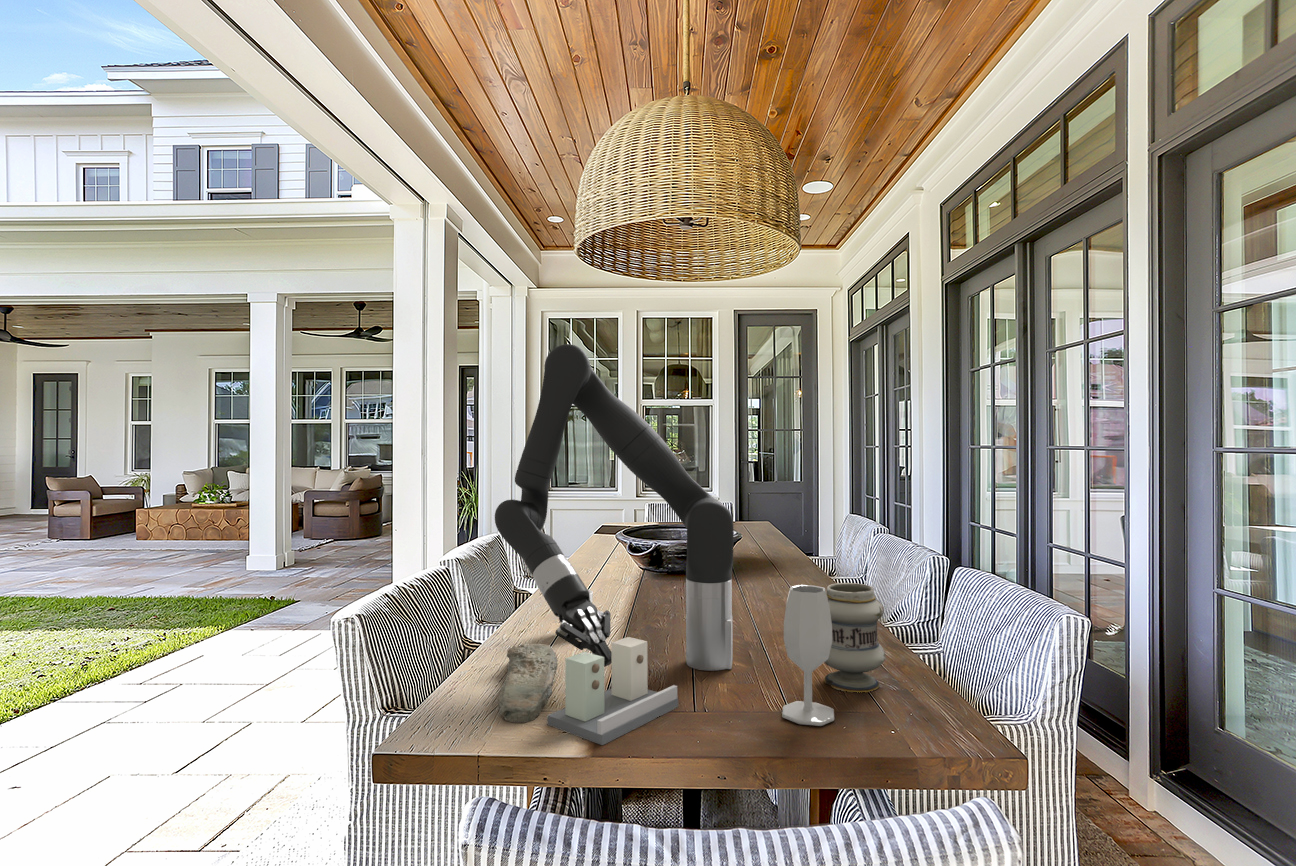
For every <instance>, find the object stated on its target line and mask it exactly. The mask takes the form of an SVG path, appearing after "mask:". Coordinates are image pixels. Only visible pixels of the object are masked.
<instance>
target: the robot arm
mask: <svg viewBox="0 0 1296 866" xmlns="http://www.w3.org/2000/svg"><path fill="white" fill-rule="evenodd" d="M543 367H544V370H543V372H544V373H543V380H542V384H541V390H540V391H541V393H540V397H539V400H538V405H537V409H536V413H535V416H534V418H533V422H532V425H531V427H530V431H529V434H528V436H527V439H526V441H525V445H524V448H523V450H522V453H521V457H520V460H519V463H518V465H517V467H516V471H515V475H514V483H515V485H517V487H519V488H520V489H521V497H520V500H518V499H506V500H504V501H502V502H501V503H499V504H498V506H497V507H496V509H495V512H494V523H495V527H496V529H497V531H498V533H499V535H500V536H501V537H502V538H503V539H504V540H505V542H507V544H508V545H509V546H510V547H511V548H512V549H513V550H514V551H515V553H516V554H518V556H520V558H521V559H522V560H523V561H524V563H525V565H526V567H527V569H528V570H529V572H530V574H531V575H532V577H533V579H534V581H535V584H536V586H537V588H538V590H539V592H541V593H540V594H542V597H543V598H544V600H545V602H546V604H547V605H548V607H549V608H550V610H551V612H552V613H553V615H554V616H555V617H557V618H558V620H559V623H560V622H561V624H559V626H558V628H557V629H556V630H555V635H556V636H557V637H559V638H560V639H562V640H563V641H565V642H567V643H568V644H570V645H572V646H574V647H575V648H576V649H578V650H580V651H583V650H584V649H586V650H588V651H590V652H591V654H595V655H599V656H602V657H604V668H605V667H607V666H610V665H612V662H611V649H610V647H609V646H608V644H607V642H606V640H607V639H608V638H609V637H610V636H611V612H610V611H609V610H606V609H605V610H604V611H601V610H598V608H597V606H596V604H594V603H593V602H591V601H590V598H589V591H588V590H589V589H588V588H587V586H586V585H585V583H584V582H583V580H582V579H581V577H580V575H579V574H578V572H577V571H576V569H575V568H574V566H573V565H572V563H571V562H570V561H569V559H567V557H566V556H565V554H564V553H563V551H562V549H561V548H560V546H559V545H558V543H557V542H556V540H555V539H554V538H553V537H552V536H551V535H549V534H547V533H546V532H543V531H542V529H543V527H544V526H545V523H546V520H547V515H548V505H549V503H548V502H549V489H550V487H549V486H550V483H551V481H552V480H551V479H552V477H553V475H554V471H555V467H556V465H557V463H558V460H559V459H558V458H559V455H560V450H561V446H562V441H563V436H564V432H565V427H566V424H567V421H568V417H569V415H570V411H571V409H572V407H573V406H574V407H575V408H576V409H578V410H579V412H580V413H582V414H583V415H584V416H585V417H586V418H587V420H588V421H589V422H590V424H591V425H592V426H593V428H594V430H595V431H596V432H597V434H598V435H599V436H600V438H601V439H602V440H603V442H605V444H606V446H608V448H609V449H610V450H611V451H612V453H613V454H614V455H615V456H616V457H617V458H618V459H619V460H620V461H621V462H622V464H624V465H625V467H627V469H629V471H630V472H631V473H632V474H634V476H636V477H637V478H638V479H639V480H640V481H642V482H643V483H644V484H645V485H646V487H649V488H650V489H651V490H653V491H654V492H655V493H656V494H658V495H659V496H660V497H661V498H662V499H663V500H664V501H665V502H666V503H667V504H668V505H669V507H670V508H671V509H672V510H673V512H674V513H675V515H676V516H677V517H678V519H679V520H680V521H681V522H682V524H683V525H684V527H685V529H686V564H685V656H686V657H685V660H686V661H685V663H686V665H687V667H689V668H692V669H695V670H699V671H710V672H711V671H712V672H713V671H722V670H723V671H724V670H731V669H732V667H733V614H732V613H733V610H732V609H733V607H732V606H733V601H732V600H733V596H732V595H733V593H732V592H733V589H732V587H733V586H732V585H733V582H732V581H733V580H732V578H733V577H732V575H733V574H732V573H733V566H734V539H735V538H734V536H735V535H734V533H735V532H734V519H733V516H732V513H731V512H730V510H729V508H728V507H727V506H725V505H724V504H722V502H720V501H719V500H718V499H716V498H715V497H714V496H713V495H711V494H710V493H709V492H707V491H706V489H704V488H703V487H702V486H701V485H700V484H699V483H698V482H697V481H695V480H694V479H693V478H692V477H691V475H690V474H689V473H688V472H687V471H686V469H685V467H684V466H683V465H682V464H681V462H680V461H679V459H678V457H677V456H676V455H675V453H674V452H673V451H672V449H671V448H670V447H669V445H668V444H667V442H666V441H665V440H664V438H662V437H661V436H660V434H658V433H657V431H656V430H655V429H654V428H653V427H652V426H651V425H650V424H649V423H648V422H647V421H646V420H645V419H644V418H643V417H642V416H640V414H639V413H638V412H636V410H633V409H632V408H631V407H630V406H629V405H628V404H626V403H625V402H623V401H622V400H621V399H619V397H617V396H615V395H614V394H613V392H612V391H610V389H609V388H608V387H607V386H606V385H605V383H604V381H602V380H601V378H600V377H599V376H598V374H597V373H596V372H595V371H594V369H593V367H592V366H591V362H590V360H589V357H588V355H587V354H586V352H585V351H584V350H583V349H582V348H580V347H579V346H577V345H574V344H571V343H568V344H567V343H565V344H560V345H558V346H556V347H555V348H553V349H552V350H551V351H550V352H549V353H548V355H547V356H546V358H545V361H544V365H543ZM587 589H588V590H587ZM576 638H578V639H576Z"/></svg>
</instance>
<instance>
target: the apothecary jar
mask: <svg viewBox="0 0 1296 866" xmlns="http://www.w3.org/2000/svg"><path fill="white" fill-rule="evenodd" d="M826 593H827V597H828V600H829V606H830V613H831V620H832V645H831V649H830V653H829V657H828V659H827V660H826V661H825V662H824V663H823V664H826V665H827V666H828V667H830V668H831V669H834V670H836V671H833V672H829V673H827V674H826V675H825V676H824V679H823V681H824V684H825V685H828V686H830V687H831V688H832V689H834V690H837V691H840V690H841V692H846V691H847V692H846V693H853V692H857V693H856V694H863V693H862V692H865V693H870V692H869V691H871V692H873V690H874V691H876V690H878V689H879V688H880V682H879V681H878V679H876V678H875V677H873V676H871V675H869V674H867V672H871V671H874V670H876V669H878V668H880V666H882V665H883V664H884V662H885V660H886V658H887V657H886V651H885V649H884V647H883V646H882V645H881V644H880V643H879V636H878V635H879V634H878V620H880V619H881V618H882V617H883V615H884V613H885V610H884V606H883V605H884V604H882V602H881V601H880V600H879V599H877V598H876V595H875V591H874V588H873V586H871V585H867V584H865V583H864V584H863V583H858V582H857V583H855V582H838V583H832V584H829V585H828V586H827V587H826ZM858 692H859V693H858ZM860 692H861V693H860Z"/></svg>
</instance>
